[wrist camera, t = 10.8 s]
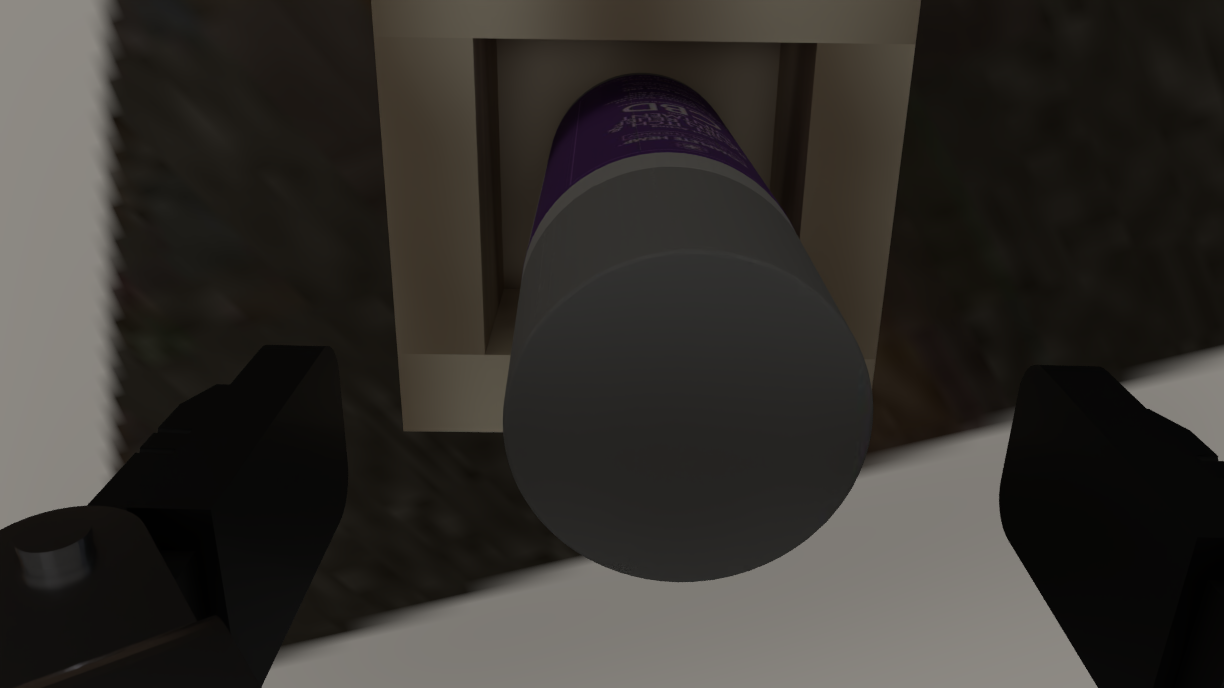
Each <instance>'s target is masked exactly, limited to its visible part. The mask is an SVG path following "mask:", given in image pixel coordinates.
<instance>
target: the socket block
mask: <svg viewBox="0 0 1224 688" xmlns="http://www.w3.org/2000/svg"><path fill="white" fill-rule="evenodd" d="M920 4H921V0H371V5H372V18H373V31H374V45H375V58H376V71H377V85H378V98H379V111H380V124H381V138H382V151H383V164H384V178H385V191H386V204H387V217H388V231H389V244H390V257H391V271H392V284H393V297H394V310H395V324H396V337H397V350H398V364H399V377H400V390H401V403H402V417H403V430H404V431H438V432H503V406H504V398H505V391H506V384H507V377H508V370H509V363H510V356H511V350H512V343H513V336H514V329H515V322H516V315H517V308H518V301H519V294H520V287H521V279H522V272H523V265H524V260H525V256H526V252H527V248H528V243H529V239H530V235H531V231H532V226H533V222H534V218H535V214H536V209H537V205H538V201H539V197H540V192H541V188H542V184H543V180H544V175H545V171H546V167H547V163H548V158H549V154H550V150H551V146H552V142H553V139H554V136H555V133H556V131H557V128H558V126H559V124H560V122H561V120H562V118H563V117H564V115H565V114H566V112H567V111H568V109H569V108H570V107H571V106H572V104H573V103H574V102H575V101H576V100H577V99H578V98H579V97H580V96H581V95H583V94H584V93H585V92H586V91H588V90H589V89H590V88H592V87H593V86H595V85H597V84H599V83H600V82H603V81H605V80H607V79H609V78H613V77H616V76H619V75H624V74H630V73H653V74H658V75H663V76H667V77H670V78H673V79H675V80H678V81H680V82H682V83H684V84H686V85H687V86H689V87H690V88H692V89H693V90H695V91H696V92H697V93H699V94H700V95H701V96H702V97H703V98H704V99H705V100H706V101H707V102H708V103H709V104H710V105H711V106H712V108H713V109H714V110H715V111H716V113H717V114H718V116H719V117H720V118H721V120H722V121H723V123H724V124H725V126H726V127H727V129H728V130H729V132H730V133H731V135H732V136H733V137H734V139H735V140H736V142H737V143H738V145H739V146H740V148H741V149H742V151H743V152H744V153H745V155H746V156H747V158H748V159H749V161H750V162H751V164H752V165H753V167H754V168H755V170H756V171H757V172H758V174H759V175H760V177H761V178H762V180H763V181H764V183H765V184H766V186H767V187H768V188H769V190H770V191H771V193H772V194H773V196H774V197H775V199H776V200H777V202H778V203H779V205H780V206H781V207H782V209H783V210H784V212H785V214H786V215H787V217H788V218H789V220H790V222H791V224H792V226H793V228H794V230H795V232H796V234H797V236H798V238H799V239H800V241H801V243H802V245H803V246H804V248H805V250H806V252H807V254H808V255H809V257H810V259H811V261H812V262H813V264H814V266H815V268H816V270H817V271H818V273H819V275H820V277H821V278H822V280H823V282H824V284H825V286H826V287H827V289H828V291H829V293H830V295H831V296H832V298H833V300H834V302H835V303H836V305H837V307H838V309H839V311H840V312H841V314H842V316H843V318H844V319H845V321H846V323H847V325H848V327H849V328H850V330H851V332H852V334H853V335H854V337H855V339H856V341H857V343H858V345H859V347H860V350H861V352H862V354H863V357H864V360H865V363H866V366H867V369H868V373H869V377H870V382H871V388H872V384H873V377H874V369H875V361H876V353H877V345H878V337H879V329H880V321H881V313H882V305H883V297H884V289H885V282H886V274H887V266H888V258H889V250H890V242H891V234H892V226H893V218H894V210H895V202H896V194H897V187H898V179H899V171H900V163H901V155H902V147H903V139H904V131H905V123H906V115H907V107H908V99H909V92H910V84H911V76H912V68H913V60H914V52H915V44H916V36H917V28H918V20H919V12H920Z"/></svg>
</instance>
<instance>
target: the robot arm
mask: <svg viewBox="0 0 1224 688" xmlns="http://www.w3.org/2000/svg"><path fill="white" fill-rule="evenodd" d="M347 488H348V462H347V452H346V441H345V431H344V420H343V410H342V399H341V389H340V378H339V369H338V363H337V359H336V355H335V353H334V351H333V349H332V348H331V347H328V346H291V345H265V346H263V347H262V348H261V349H260V350H259V351H258V352H257V354H256V355H255V356H254V357H253V358H252V359H251V361H250V362H249V363H248V364H247V365H246V367H245V368H244V369H243V370H242V371H241V372H240V374H239V375H238V376H237V377H236V378H235V380H234V381H233V382H232V383H231V384H230V385H221V384H216V385H215V386H213V387H211V388H209V389H207V390H205V391H203V392H202V393H200V394H198V395H196V396H194V397H192V398H191V399H189V400H187V401H185V402H183V403H181V404H180V405H179V406H178V407H177V408H176V409H175V410H174V411H173V412H172V413H171V414H170V416H169V417H168V418H167V419H166V420H165V421H164V422H163V423H162V424H161V425H160V426H159V428H158V433H153V434H152V435H151V436H150V437H149V439H148V440H147V441H146V442H145V443H144V444H143V445H142V446H141V447H140V453H135V454H134V455H133V456H132V457H131V458H130V459H129V460H128V461H127V463H126V464H125V465H124V466H123V467H122V468H121V469H120V470H119V471H118V472H117V473H116V475H115V476H114V477H113V478H112V479H111V480H110V481H109V482H108V483H107V484H106V485H105V487H104V488H103V489H102V490H101V491H100V492H99V493H98V494H97V495H96V496H95V497H94V499H93V500H92V501H91V502H90V503H89V504H88V505H87V506H77V507H69V508H63V509H57V510H53V511H48V512H44V513H41V514H38V515H34V516H31V517H28V518H26V519H23V520H21V521H19V522H16V523H13V524H11V525H9V526H7V527H5V528H4V529H1V530H0V688H261V687H262V685H263V683H264V680H265V678H266V676H267V674H268V672H269V670H270V668H271V666H272V664H273V661H274V659H275V657H276V655H277V653H278V651H279V649H280V647H281V645H282V643H283V640H284V638H285V636H286V634H287V632H288V630H289V628H290V626H291V624H292V622H293V619H294V617H295V615H296V613H297V611H298V609H299V607H300V605H301V603H302V600H303V598H304V596H305V594H306V592H307V590H308V588H309V586H310V584H311V582H312V579H313V577H314V575H315V573H316V571H317V569H318V567H319V565H320V563H321V560H322V558H323V556H324V554H325V552H326V550H327V548H328V546H329V544H330V542H331V539H332V537H333V535H334V533H335V531H336V529H337V527H338V525H339V523H340V520H341V518H342V515H343V512H344V508H345V503H346V497H347ZM999 507H1000V516H1001V522H1002V525H1003V529H1004V532H1005V534H1006V537H1007V539H1008V540H1009V542H1010V544H1011V545H1012V547H1013V549H1014V550H1015V552H1016V554H1017V555H1018V557H1019V558H1020V560H1021V562H1022V563H1023V565H1024V567H1025V568H1026V570H1027V572H1028V573H1029V575H1030V577H1031V578H1032V580H1033V582H1034V583H1035V585H1036V587H1037V588H1038V590H1039V591H1040V593H1041V595H1042V596H1043V598H1044V600H1045V601H1046V603H1047V605H1048V606H1049V608H1050V610H1051V611H1052V613H1053V614H1054V616H1055V618H1056V619H1057V621H1058V623H1059V624H1060V626H1061V627H1062V629H1063V631H1064V632H1065V634H1066V636H1067V638H1068V639H1069V641H1070V642H1071V644H1072V646H1073V647H1074V649H1075V651H1076V652H1077V654H1078V656H1079V657H1080V659H1081V660H1082V662H1083V664H1084V665H1085V667H1086V669H1087V670H1088V672H1089V674H1090V675H1091V677H1092V679H1093V680H1094V682H1095V683H1096V685H1097V687H1098V688H1224V461H1218V456H1217V455H1216V454H1215V453H1214V452H1213V451H1212V450H1211V449H1210V448H1209V447H1208V446H1206V445H1205V444H1204V443H1203V442H1202V441H1201V440H1200V439H1199V438H1198V437H1197V436H1196V435H1194V434H1193V433H1192V432H1191V431H1190V430H1188V429H1186V428H1184V427H1182V426H1180V425H1178V424H1176V423H1174V422H1173V421H1171V420H1169V419H1167V418H1165V417H1163V416H1161V415H1159V414H1157V413H1155V412H1153V411H1152V410H1150V409H1146V408H1145V407H1144V406H1143V405H1142V404H1141V403H1140V402H1139V401H1138V400H1137V399H1136V398H1135V397H1134V396H1132V394H1130V392H1128V391H1127V390H1126V389H1125V388H1124V387H1123V386H1122V385H1121V384H1120V383H1119V382H1118V381H1117V380H1116V379H1115V378H1114V377H1113V376H1112V375H1111V374H1110V373H1109V372H1107V371H1106V370H1105V369H1104V368H1102V367H1095V366H1054V365H1033V366H1031V367H1030V368H1029V369H1028V370H1027V371H1026V373H1025V374H1024V376H1023V378H1022V381H1021V384H1020V388H1019V393H1018V398H1017V403H1016V408H1015V413H1014V418H1013V423H1012V428H1011V433H1010V438H1009V443H1008V448H1007V453H1006V458H1005V463H1004V468H1003V473H1002V478H1001V483H1000V492H999Z"/></svg>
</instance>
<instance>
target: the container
mask: <svg viewBox="0 0 1224 688" xmlns="http://www.w3.org/2000/svg"><path fill="white" fill-rule="evenodd" d="M872 422H873V397H872V388H871V382H870V377H869V373H868V369H867V366H866V363H865V360H864V357H863V354H862V352H861V350H860V347H859V345H858V343H857V341H856V339H855V337H854V335H853V334H852V332H851V330H850V328H849V327H848V325H847V323H846V321H845V319H844V318H843V316H842V314H841V312H840V311H839V309H838V307H837V305H836V303H835V302H834V300H833V298H832V296H831V295H830V293H829V291H828V289H827V287H826V286H825V284H824V282H823V280H822V278H821V277H820V275H819V273H818V271H817V270H816V268H815V266H814V264H813V262H812V261H811V259H810V257H809V255H808V254H807V252H806V250H805V248H804V246H803V245H802V243H801V241H800V239H799V238H798V236H797V234H796V232H795V230H794V228H793V226H792V224H791V222H790V220H789V218H788V217H787V215H786V214H785V212H784V210H783V209H782V207H781V206H780V205H779V203H778V202H777V200H776V199H775V197H774V196H773V194H772V193H771V191H770V190H769V188H768V187H767V186H766V184H765V183H764V181H763V180H762V178H761V177H760V175H759V174H758V172H757V171H756V170H755V168H754V167H753V165H752V164H751V162H750V161H749V159H748V158H747V156H746V155H745V153H744V152H743V151H742V149H741V148H740V146H739V145H738V143H737V142H736V140H735V139H734V137H733V136H732V135H731V133H730V132H729V130H728V129H727V127H726V126H725V124H724V123H723V121H722V120H721V118H720V117H719V116H718V114H717V113H716V111H715V110H714V109H713V108H712V106H711V105H710V104H709V103H708V102H707V101H706V100H705V99H704V98H703V97H702V96H701V95H700V94H699V93H697V92H696V91H695V90H693V89H692V88H690V87H689V86H687V85H686V84H684V83H682V82H680V81H678V80H675V79H673V78H670V77H667V76H663V75H658V74H653V73H630V74H624V75H619V76H616V77H613V78H609V79H607V80H605V81H603V82H600V83H599V84H597V85H595V86H593V87H592V88H590V89H589V90H588V91H586V92H585V93H584V94H583V95H581V96H580V97H579V98H578V99H577V100H576V101H575V102H574V103H573V104H572V106H571V107H570V108H569V109H568V111H567V112H566V114H565V115H564V117H563V118H562V120H561V122H560V124H559V126H558V128H557V131H556V133H555V136H554V139H553V142H552V146H551V150H550V154H549V158H548V163H547V167H546V171H545V175H544V180H543V184H542V188H541V192H540V197H539V201H538V205H537V209H536V214H535V218H534V222H533V226H532V231H531V235H530V239H529V243H528V248H527V252H526V256H525V260H524V265H523V272H522V279H521V287H520V294H519V301H518V308H517V315H516V322H515V329H514V336H513V343H512V350H511V356H510V363H509V370H508V377H507V384H506V391H505V398H504V406H503V435H504V444H505V449H506V454H507V458H508V462H509V465H510V468H511V471H512V474H513V477H514V479H515V481H516V483H517V486H518V488H519V489H520V491H521V493H522V495H523V497H524V498H525V500H526V501H527V503H528V504H529V506H530V507H531V509H532V511H533V512H534V513H535V514H536V516H537V517H538V518H539V519H540V520H541V522H542V523H543V524H544V525H545V526H546V527H547V528H548V529H549V530H550V531H551V532H552V533H553V534H554V535H555V536H557V537H558V538H559V539H560V540H561V541H562V542H564V543H565V544H566V545H568V546H569V547H571V548H572V549H573V550H575V551H576V552H578V553H580V554H581V555H583V556H584V557H586V558H588V559H590V560H592V561H594V562H596V563H598V564H600V565H602V566H605V567H607V568H610V569H612V570H615V571H618V572H620V573H624V574H628V575H631V576H635V577H640V578H644V579H650V580H657V581H669V582H695V581H705V580H714V579H719V578H724V577H729V576H733V575H736V574H740V573H743V572H746V571H750V570H752V569H755V568H757V567H760V566H762V565H765V564H767V563H769V562H771V561H773V560H775V559H777V558H779V557H781V556H783V555H784V554H786V553H788V552H789V551H791V550H793V549H794V548H796V547H797V546H798V545H800V544H801V543H803V542H804V541H805V540H807V539H808V538H809V537H810V536H811V535H813V534H814V533H815V532H816V531H817V530H818V529H819V528H820V527H821V526H823V524H825V523H826V522H827V521H828V519H829V518H830V517H831V516H832V515H833V514H834V512H835V511H836V510H837V509H838V508H839V506H840V505H841V504H842V502H843V501H844V499H845V498H846V496H847V495H848V493H849V492H850V490H851V489H852V487H853V485H854V483H855V481H856V479H857V477H858V475H859V473H860V470H861V468H862V465H863V463H864V460H865V457H866V454H867V451H868V446H869V442H870V438H871V430H872Z"/></svg>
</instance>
